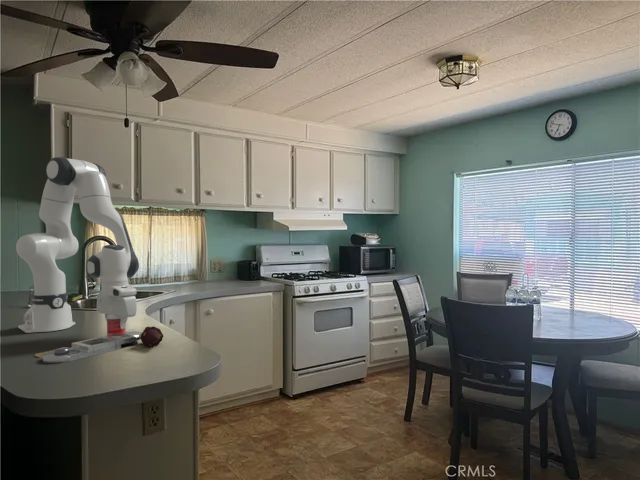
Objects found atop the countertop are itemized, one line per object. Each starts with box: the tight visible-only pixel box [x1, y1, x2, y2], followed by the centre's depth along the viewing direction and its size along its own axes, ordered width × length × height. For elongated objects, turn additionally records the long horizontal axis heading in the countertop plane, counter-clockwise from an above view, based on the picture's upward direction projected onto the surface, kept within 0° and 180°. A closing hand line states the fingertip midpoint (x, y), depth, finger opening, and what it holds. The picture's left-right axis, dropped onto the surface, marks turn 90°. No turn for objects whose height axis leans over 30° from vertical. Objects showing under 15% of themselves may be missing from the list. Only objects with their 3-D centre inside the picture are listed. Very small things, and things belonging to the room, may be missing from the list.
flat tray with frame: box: [42, 331, 143, 364], centre depth 148 cm, size 32×10×3 cm, turn 146°
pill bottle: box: [106, 309, 127, 336], centre depth 164 cm, size 6×6×11 cm
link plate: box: [34, 349, 55, 359], centre depth 145 cm, size 8×3×1 cm, turn 145°
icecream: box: [140, 326, 164, 348], centre depth 152 cm, size 7×7×15 cm
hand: (116, 327), depth 164 cm, fingers closed on pill bottle, 6 cm apart
